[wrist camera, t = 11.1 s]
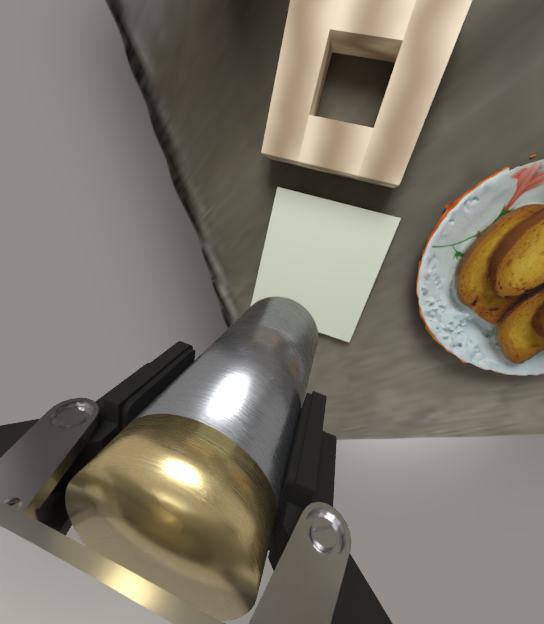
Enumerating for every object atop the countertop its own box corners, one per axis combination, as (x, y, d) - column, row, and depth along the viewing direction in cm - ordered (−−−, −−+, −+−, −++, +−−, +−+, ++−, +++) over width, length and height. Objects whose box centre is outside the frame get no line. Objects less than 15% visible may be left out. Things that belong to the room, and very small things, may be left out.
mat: (399, 218, 33) (400, 218, 32) (349, 339, 40) (349, 342, 39) (279, 187, 35) (277, 186, 34) (252, 307, 42) (250, 309, 42)
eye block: (461, 11, 25) (480, -22, 22) (393, 188, 32) (399, 185, 28) (304, -9, 28) (298, -42, 24) (270, 159, 34) (261, 152, 31)
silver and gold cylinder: (328, 311, 15) (283, 541, 5) (305, 377, 17) (234, 647, 7) (250, 286, 16) (54, 432, 5) (236, 352, 18) (73, 556, 7)
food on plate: (391, 210, 33) (401, 209, 27) (676, 100, 24) (783, 63, 18) (435, 380, 39) (451, 410, 33) (677, 342, 30) (759, 373, 24)
